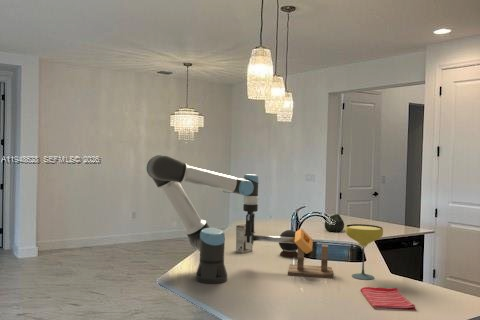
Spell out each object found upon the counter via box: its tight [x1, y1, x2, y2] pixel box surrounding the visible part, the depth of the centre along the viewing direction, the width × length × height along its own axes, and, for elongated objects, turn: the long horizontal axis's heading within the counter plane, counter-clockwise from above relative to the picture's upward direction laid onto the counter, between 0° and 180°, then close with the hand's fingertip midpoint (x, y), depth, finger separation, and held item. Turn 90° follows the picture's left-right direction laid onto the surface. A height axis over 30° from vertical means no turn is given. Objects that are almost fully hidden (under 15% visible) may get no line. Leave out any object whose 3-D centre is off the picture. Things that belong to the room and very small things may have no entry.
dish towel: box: [360, 286, 417, 312], centre depth 187 cm, size 17×24×3 cm
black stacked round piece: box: [278, 229, 298, 258], centre depth 267 cm, size 13×13×15 cm
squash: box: [324, 213, 345, 233], centre depth 355 cm, size 14×15×15 cm
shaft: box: [251, 232, 295, 245], centre depth 232 cm, size 4×26×5 cm, turn 80°
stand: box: [287, 244, 334, 279], centre depth 229 cm, size 16×22×14 cm
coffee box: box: [235, 223, 253, 254], centre depth 275 cm, size 9×6×16 cm
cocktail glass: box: [345, 223, 384, 281], centre depth 222 cm, size 18×18×25 cm
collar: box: [294, 227, 314, 255], centre depth 227 cm, size 9×4×9 cm
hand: (249, 246), depth 234 cm, fingers open, 8 cm apart
